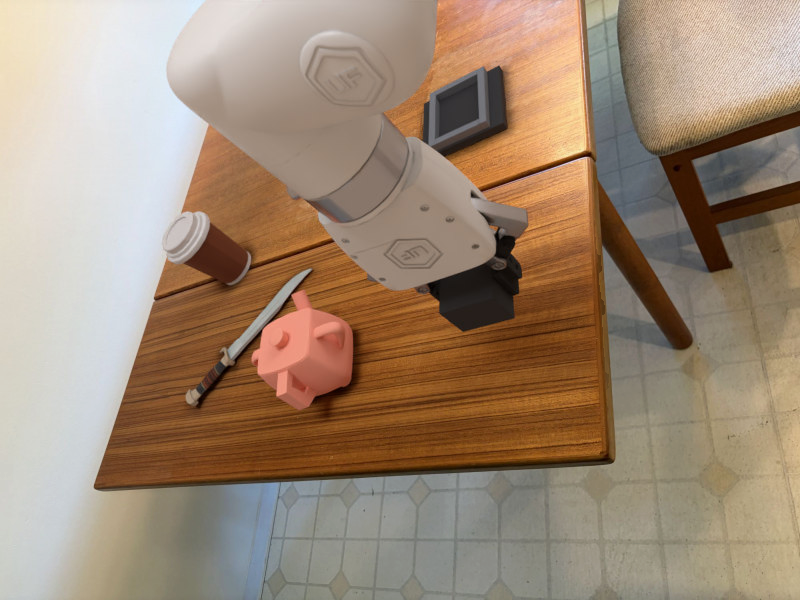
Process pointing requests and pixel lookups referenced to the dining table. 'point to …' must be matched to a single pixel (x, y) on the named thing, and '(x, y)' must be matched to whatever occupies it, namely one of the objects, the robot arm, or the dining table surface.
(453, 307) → the black block
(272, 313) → the knife
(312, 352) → the teapot
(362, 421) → the dining table surface
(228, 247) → the coffee cup
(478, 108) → the base pad
